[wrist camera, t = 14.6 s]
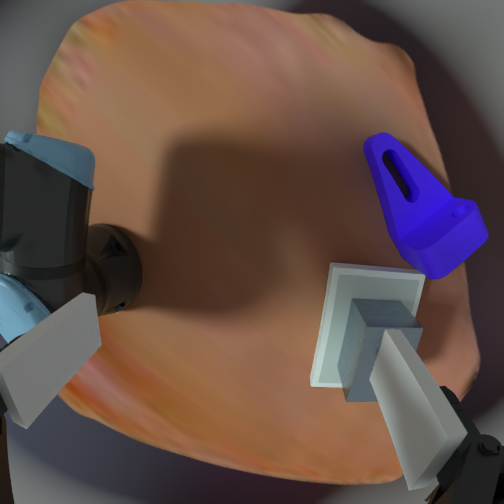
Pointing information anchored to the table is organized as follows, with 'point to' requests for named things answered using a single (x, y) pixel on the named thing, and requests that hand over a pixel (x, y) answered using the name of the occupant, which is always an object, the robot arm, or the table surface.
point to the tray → (338, 305)
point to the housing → (370, 342)
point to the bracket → (423, 211)
